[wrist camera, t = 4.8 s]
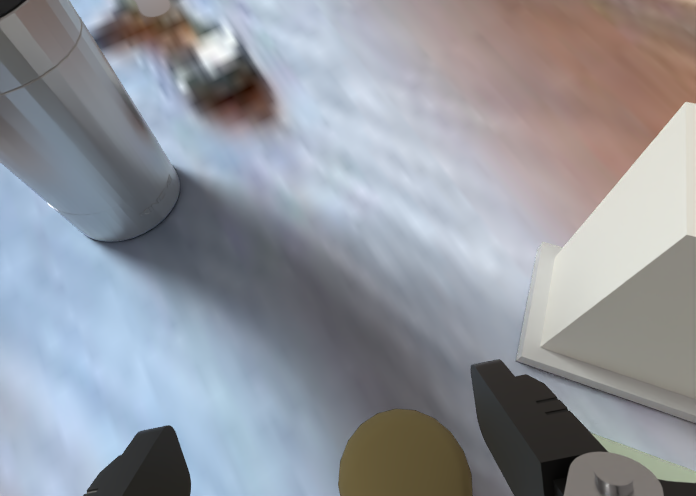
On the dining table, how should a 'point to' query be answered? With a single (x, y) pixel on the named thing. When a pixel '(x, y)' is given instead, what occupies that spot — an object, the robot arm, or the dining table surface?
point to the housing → (626, 285)
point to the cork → (403, 458)
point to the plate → (650, 462)
